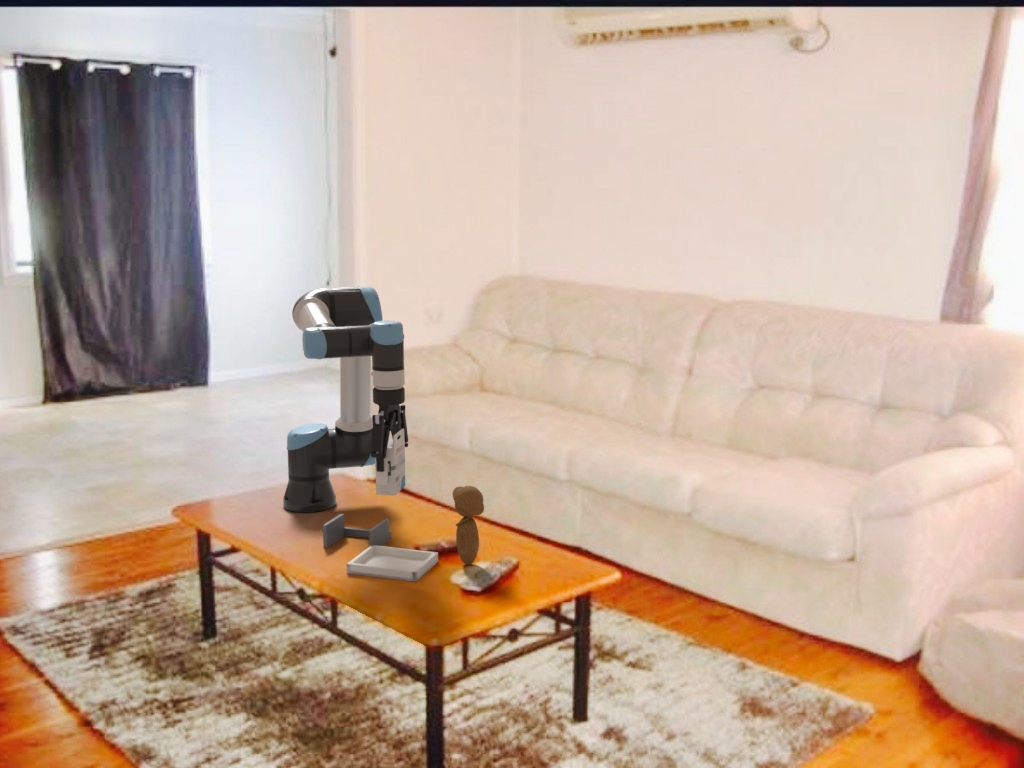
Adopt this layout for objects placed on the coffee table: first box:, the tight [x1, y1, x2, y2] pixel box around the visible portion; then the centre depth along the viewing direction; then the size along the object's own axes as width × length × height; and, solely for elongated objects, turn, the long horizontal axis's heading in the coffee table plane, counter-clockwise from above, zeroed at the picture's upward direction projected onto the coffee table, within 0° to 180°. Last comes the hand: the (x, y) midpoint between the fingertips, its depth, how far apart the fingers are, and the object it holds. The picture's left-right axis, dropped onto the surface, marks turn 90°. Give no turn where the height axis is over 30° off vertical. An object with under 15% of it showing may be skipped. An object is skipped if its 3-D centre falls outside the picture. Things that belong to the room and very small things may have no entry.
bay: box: [322, 513, 392, 549], centre depth 269 cm, size 11×14×6 cm
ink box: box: [374, 428, 406, 497], centre depth 248 cm, size 8×5×15 cm, turn 168°
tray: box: [346, 545, 439, 582], centre depth 253 cm, size 14×18×2 cm
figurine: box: [452, 485, 485, 566], centre depth 253 cm, size 9×7×20 cm
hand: (390, 478), depth 249 cm, fingers closed on ink box, 9 cm apart
